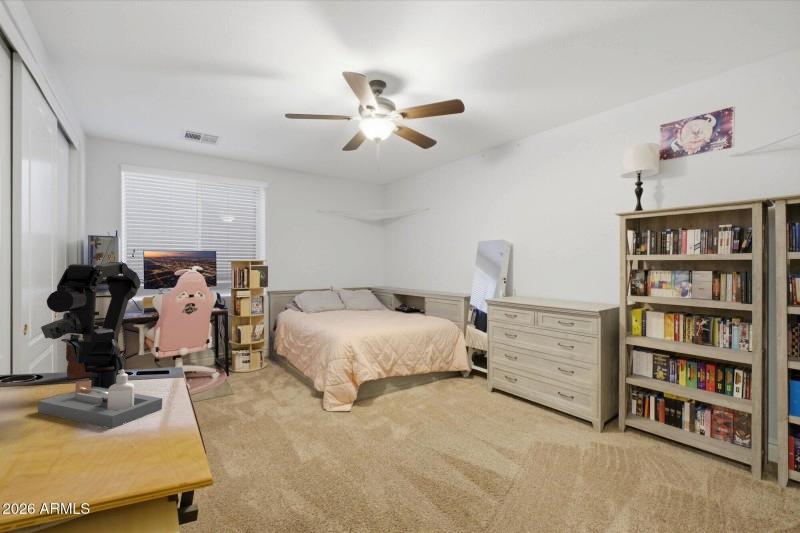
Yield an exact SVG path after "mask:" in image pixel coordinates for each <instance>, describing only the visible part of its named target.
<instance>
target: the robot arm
mask: <svg viewBox="0 0 800 533" xmlns="http://www.w3.org/2000/svg"><path fill="white" fill-rule="evenodd" d="M104 279H105V281H104ZM103 281H104V282H105V283H106V285H107V286H108V288H107V290H108V292H109V295H110V297H111V298H110V301H109V304H108V307H107V311H106V313H105V317H104V321H103V324H102V326H101V327H102V329H98V328H99V326H100V325H97V326H96V316H100V311H97V309H96V307H97V304H96V303H97V292H100V288H98V287H97V286H98V285H99V284H100V283H102V282H103ZM140 287H141V279H140V277H139V274H138V272H136V271H134V270H132V269H131V268H130V267H129V266H128V264H127V263H125V262H122V261H109V262H106V263H100V264H86V263H85V264H84V263H82V264H81V263H80V264H79V263H71V264H69V265H68V266H67V268H66V269H65V270H64V272H63V274H62V276H61V278H60V280H59V282H58V284H57V285H56V290H55V291H53V292H51V293H50V294H49V296H48V297H47V298H46V306H47V307H48V308H49V310H51V311H52V312H55V313H63V316H62V318H60V319H58V320H54V321H52V322H50V323H49V322H48V323H46V324H44V325H42V326H41V327H40V330H41V333H42V334H43V336H44V339H51V340H57V339H60V338H62V336H63V339H60V341H61V342H63V343H65V344H66V345H67V344H68V345H69V346H70V347H71V350H72V352H73V355H74V357H75V360H76V363H77V364H82V363H83V362H84V366H85V372H86V373H88V372H91V377H88V378H89V379H88V380H91V387H93V386H95V387H100V388H106V389H109V387H110V386H112V385H114V384H117V383H116V376H117V375H119V372H120V371H121V370H124V367H125V363H126V362H125V360H124V358H123V356H122V354H121V348H120V347H121V346H120V344H119V343H118V340H119V339H118V338H119V335H120V333H121V332H120V331H121V327H122V324H123V322H124V318H125V314H126V311H127V307H128V304H129V302H130V300H132V299H133V298H134V297H135V296H136V295H137V293H138V290H139V289H140Z"/></svg>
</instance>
